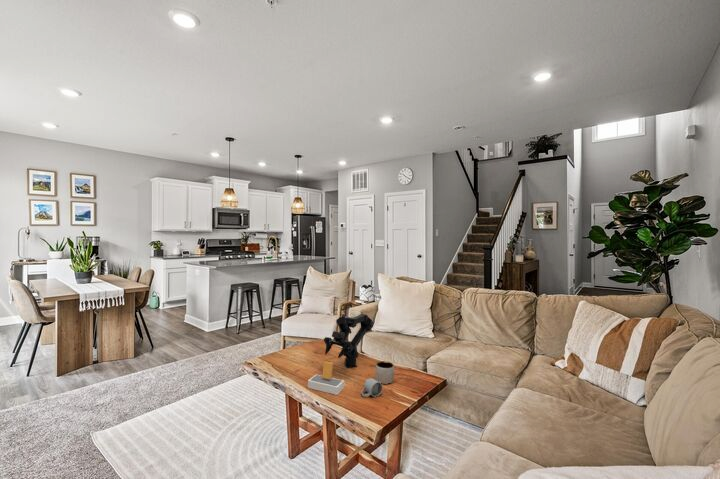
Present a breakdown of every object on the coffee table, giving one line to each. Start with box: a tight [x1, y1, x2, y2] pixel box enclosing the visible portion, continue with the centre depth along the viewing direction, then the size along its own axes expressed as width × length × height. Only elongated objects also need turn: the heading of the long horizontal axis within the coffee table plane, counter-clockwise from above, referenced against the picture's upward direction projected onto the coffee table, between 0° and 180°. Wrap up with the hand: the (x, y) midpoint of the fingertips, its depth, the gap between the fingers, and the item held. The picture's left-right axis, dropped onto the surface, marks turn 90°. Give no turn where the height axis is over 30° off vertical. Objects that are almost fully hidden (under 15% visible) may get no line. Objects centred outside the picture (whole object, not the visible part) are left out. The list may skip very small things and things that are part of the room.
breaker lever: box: [321, 361, 334, 379], centre depth 184 cm, size 2×5×8 cm, turn 69°
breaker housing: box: [307, 374, 345, 396], centre depth 183 cm, size 9×18×4 cm, turn 68°
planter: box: [374, 360, 395, 385], centre depth 195 cm, size 11×11×10 cm
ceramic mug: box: [360, 377, 383, 398], centre depth 178 cm, size 11×8×8 cm
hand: (331, 355), depth 195 cm, fingers open, 9 cm apart
